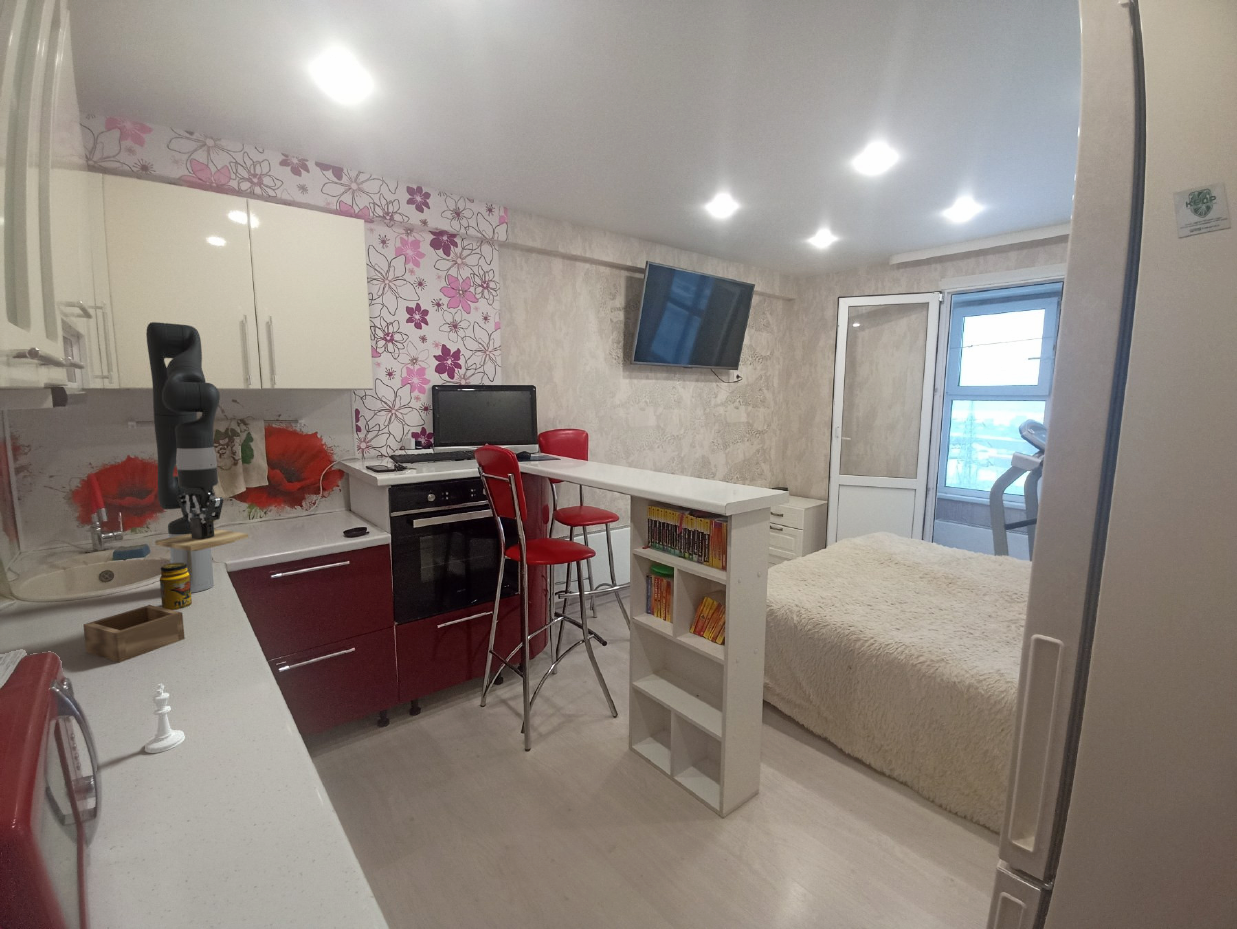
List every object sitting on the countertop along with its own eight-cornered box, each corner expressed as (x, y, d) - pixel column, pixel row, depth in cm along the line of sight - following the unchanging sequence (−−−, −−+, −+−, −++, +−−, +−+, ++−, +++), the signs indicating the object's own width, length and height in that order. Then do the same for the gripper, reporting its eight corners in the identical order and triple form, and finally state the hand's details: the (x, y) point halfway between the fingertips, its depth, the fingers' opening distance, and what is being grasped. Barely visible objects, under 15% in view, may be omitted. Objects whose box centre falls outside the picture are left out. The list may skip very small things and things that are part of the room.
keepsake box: (86, 655, 114) (83, 624, 113) (152, 633, 125) (149, 604, 124) (120, 666, 110) (116, 633, 109) (184, 642, 121) (182, 612, 120)
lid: (155, 548, 125) (153, 520, 125) (214, 535, 137) (212, 509, 137) (191, 554, 121) (188, 525, 120) (248, 540, 133) (247, 514, 132)
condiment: (192, 610, 139) (188, 566, 138) (149, 617, 134) (145, 571, 133) (195, 602, 145) (191, 559, 144) (154, 608, 140) (150, 564, 139)
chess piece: (139, 756, 82) (133, 695, 81) (152, 738, 87) (146, 680, 86) (178, 748, 84) (173, 688, 83) (189, 731, 89) (184, 674, 87)
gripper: (233, 466, 128) (238, 536, 130) (195, 463, 133) (201, 530, 135) (199, 469, 121) (205, 543, 123) (160, 466, 126) (167, 537, 128)
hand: (203, 536), depth 129 cm, fingers closed on lid, 3 cm apart
